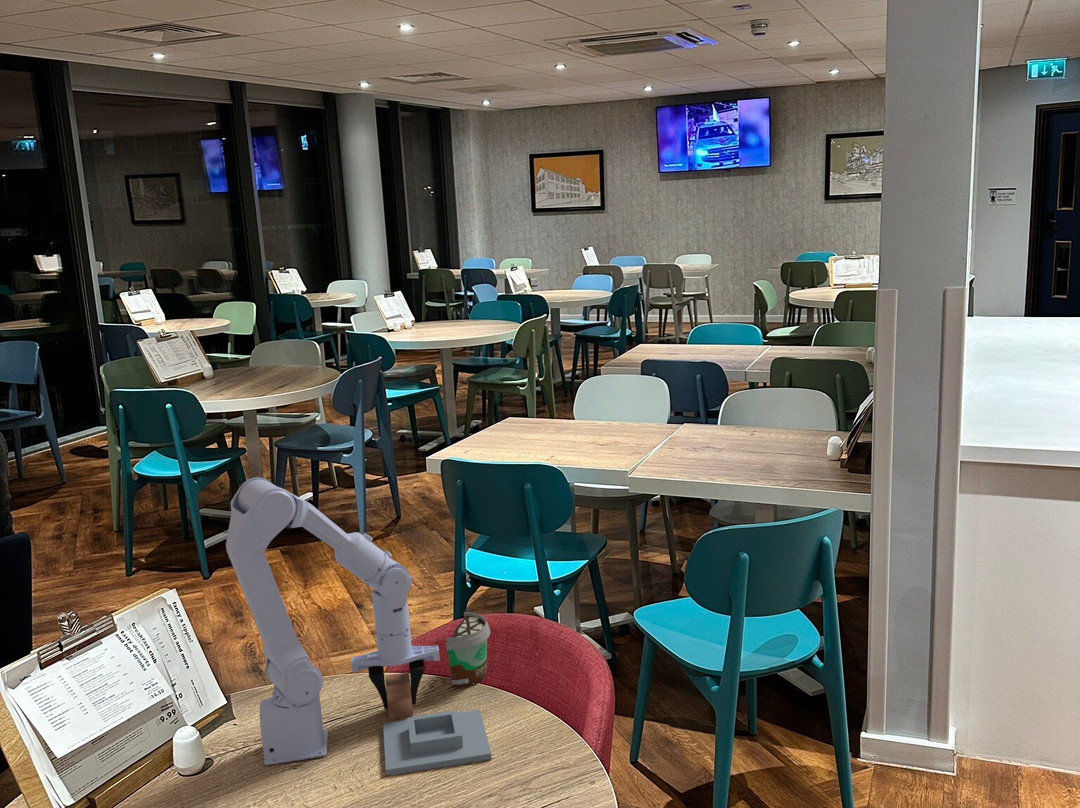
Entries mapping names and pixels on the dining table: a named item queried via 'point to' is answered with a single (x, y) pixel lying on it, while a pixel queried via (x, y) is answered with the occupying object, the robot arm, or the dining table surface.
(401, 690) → the terracotta block
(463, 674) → the food container
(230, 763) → the dining table surface
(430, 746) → the base board
